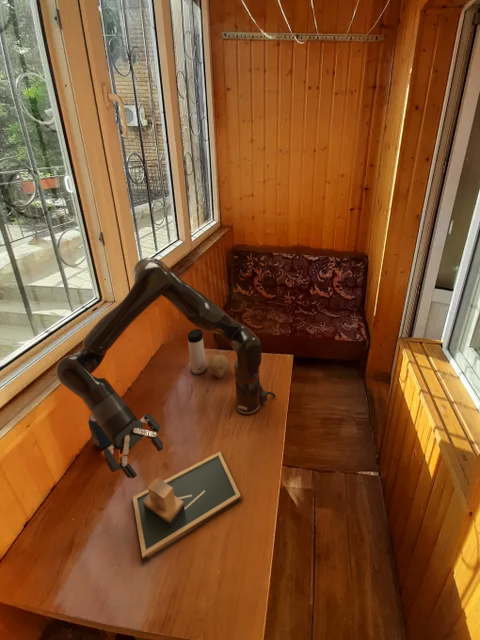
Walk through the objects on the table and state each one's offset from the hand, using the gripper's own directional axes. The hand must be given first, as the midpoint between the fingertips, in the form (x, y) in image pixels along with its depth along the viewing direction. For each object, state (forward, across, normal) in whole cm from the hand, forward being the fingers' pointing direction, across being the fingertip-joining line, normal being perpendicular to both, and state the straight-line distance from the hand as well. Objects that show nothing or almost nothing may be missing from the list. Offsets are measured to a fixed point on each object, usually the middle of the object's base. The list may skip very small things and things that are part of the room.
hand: (148, 462), depth 84 cm
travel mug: (-8, +47, +30) cm, 57 cm away
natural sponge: (-1, +49, +22) cm, 54 cm away
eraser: (+13, -1, +6) cm, 15 cm away
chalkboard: (+16, +4, +5) cm, 18 cm away
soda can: (-11, +5, +32) cm, 34 cm away
